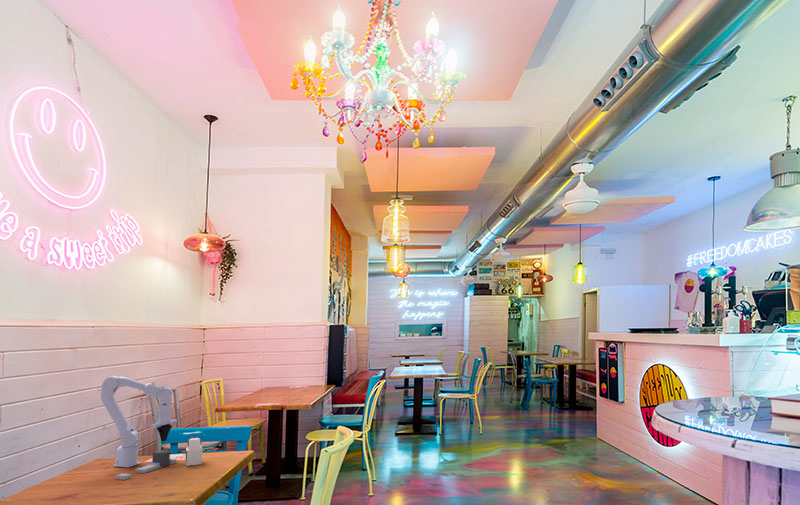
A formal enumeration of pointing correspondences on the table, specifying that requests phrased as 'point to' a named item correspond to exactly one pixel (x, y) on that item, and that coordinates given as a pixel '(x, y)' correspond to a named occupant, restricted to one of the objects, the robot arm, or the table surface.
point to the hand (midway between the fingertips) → (163, 440)
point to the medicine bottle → (194, 452)
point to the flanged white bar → (143, 470)
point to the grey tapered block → (161, 457)
